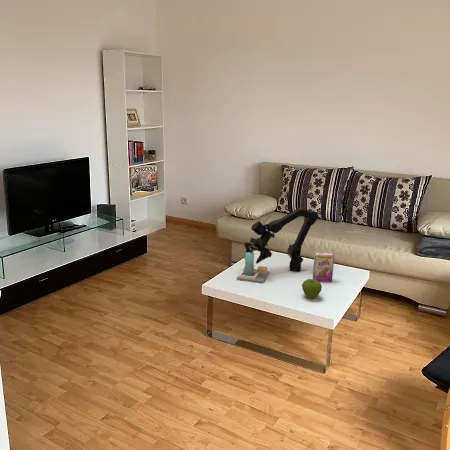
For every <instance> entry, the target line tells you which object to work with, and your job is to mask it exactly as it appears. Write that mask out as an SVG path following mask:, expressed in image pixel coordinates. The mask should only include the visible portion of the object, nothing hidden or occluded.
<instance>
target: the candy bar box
mask: <svg viewBox="0 0 450 450" xmlns="http://www.w3.org/2000/svg"><path fill="white" fill-rule="evenodd" d="M334 263H335V254H334V253H330V252H329V253H325V252H314V259H313V270H312V279H314V280H317V281H319V282H325V283H332V282H333V274H334Z"/></svg>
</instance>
